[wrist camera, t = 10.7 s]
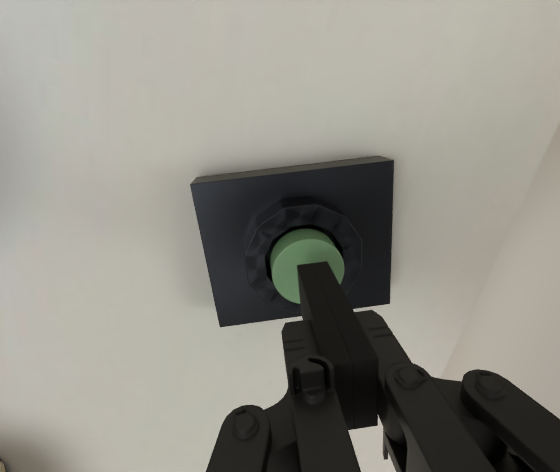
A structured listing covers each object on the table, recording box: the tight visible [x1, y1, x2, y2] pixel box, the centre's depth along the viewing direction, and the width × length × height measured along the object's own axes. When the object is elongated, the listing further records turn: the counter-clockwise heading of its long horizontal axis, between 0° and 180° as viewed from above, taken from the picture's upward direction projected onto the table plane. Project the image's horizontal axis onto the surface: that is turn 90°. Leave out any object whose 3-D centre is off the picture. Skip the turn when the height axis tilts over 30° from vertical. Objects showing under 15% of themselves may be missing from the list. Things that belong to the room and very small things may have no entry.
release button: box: [270, 228, 344, 304], centre depth 18 cm, size 4×4×2 cm
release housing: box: [190, 156, 394, 327], centre depth 20 cm, size 12×10×4 cm
